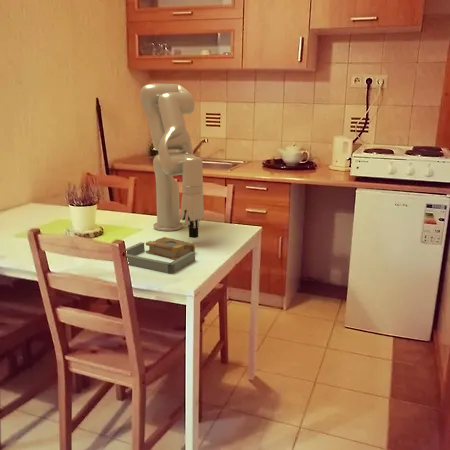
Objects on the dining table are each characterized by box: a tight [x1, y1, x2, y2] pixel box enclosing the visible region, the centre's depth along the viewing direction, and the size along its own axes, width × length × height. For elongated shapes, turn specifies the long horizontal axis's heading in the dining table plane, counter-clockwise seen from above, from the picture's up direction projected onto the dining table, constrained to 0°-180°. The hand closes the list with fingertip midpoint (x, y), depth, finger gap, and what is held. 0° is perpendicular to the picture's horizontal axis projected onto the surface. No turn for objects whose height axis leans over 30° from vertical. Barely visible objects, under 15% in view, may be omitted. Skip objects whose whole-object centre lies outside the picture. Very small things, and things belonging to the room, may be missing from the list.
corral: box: [125, 241, 196, 275], centre depth 166 cm, size 14×23×3 cm, turn 63°
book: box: [145, 236, 196, 261], centre depth 175 cm, size 15×11×5 cm
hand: (193, 237), depth 186 cm, fingers closed
